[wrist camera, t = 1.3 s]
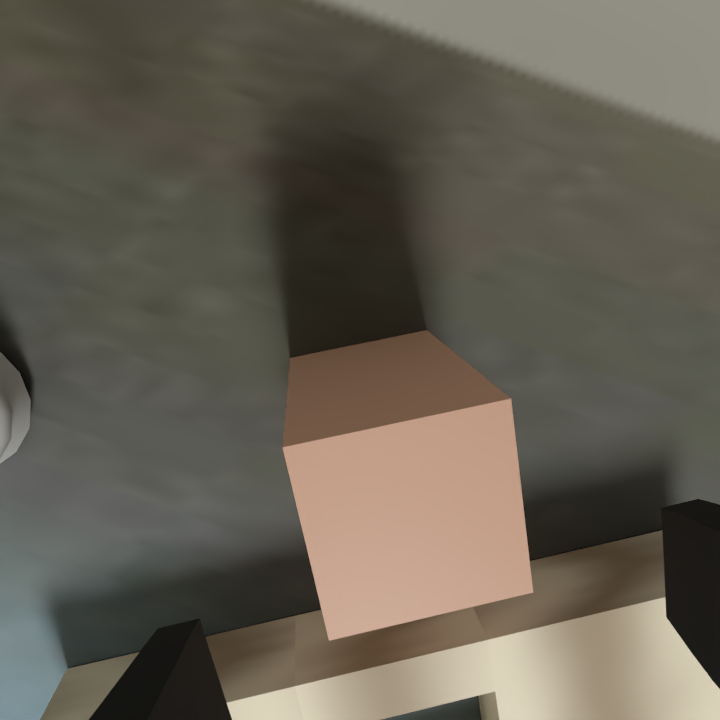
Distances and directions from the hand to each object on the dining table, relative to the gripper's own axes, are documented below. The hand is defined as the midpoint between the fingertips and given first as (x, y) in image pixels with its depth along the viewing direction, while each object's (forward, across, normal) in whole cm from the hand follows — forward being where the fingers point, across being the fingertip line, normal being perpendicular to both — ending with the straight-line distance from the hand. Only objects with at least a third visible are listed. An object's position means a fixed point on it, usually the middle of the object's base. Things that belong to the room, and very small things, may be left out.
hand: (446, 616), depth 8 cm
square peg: (+10, 0, 0) cm, 10 cm away
